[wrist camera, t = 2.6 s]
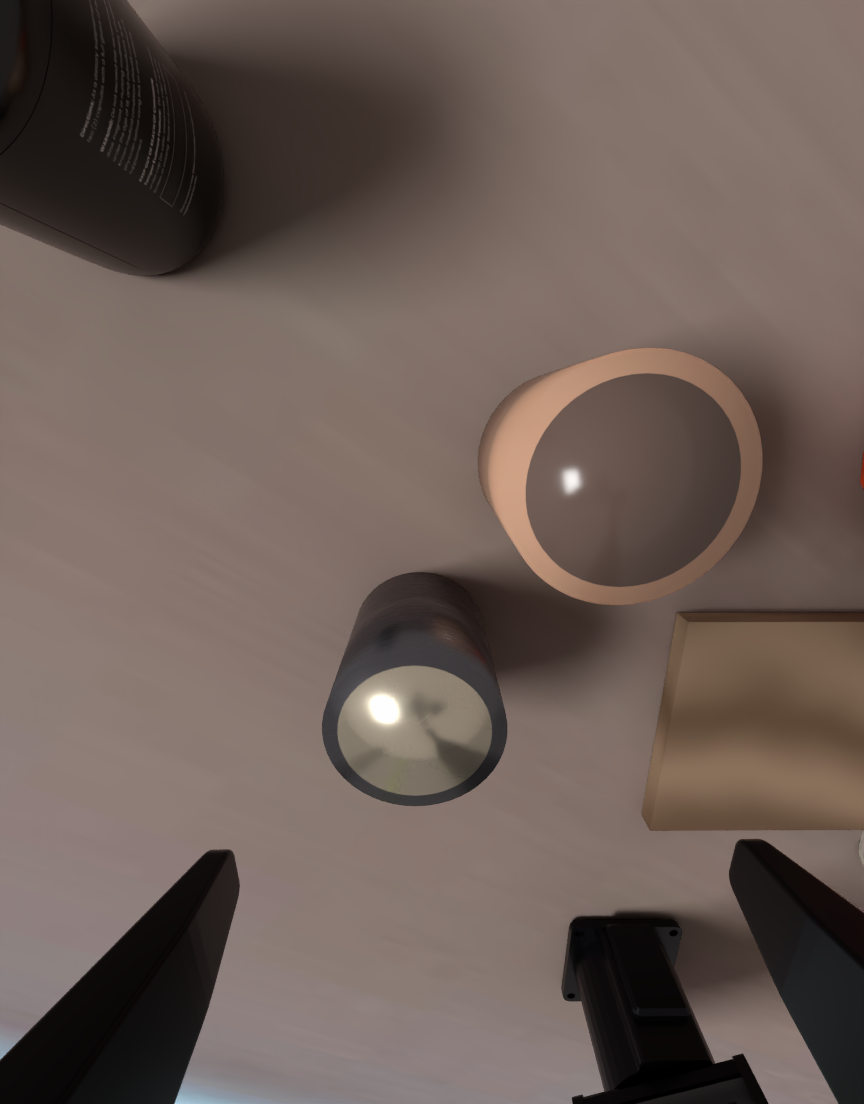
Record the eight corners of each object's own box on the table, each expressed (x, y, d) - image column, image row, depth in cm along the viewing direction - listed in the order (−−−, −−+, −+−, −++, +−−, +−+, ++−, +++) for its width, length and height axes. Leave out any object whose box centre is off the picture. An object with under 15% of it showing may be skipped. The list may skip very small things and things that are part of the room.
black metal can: (481, 687, 22) (503, 807, 16) (358, 687, 22) (328, 807, 16) (485, 572, 21) (512, 651, 14) (352, 572, 21) (315, 651, 14)
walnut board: (861, 813, 25) (878, 829, 24) (641, 814, 25) (649, 830, 24) (933, 612, 21) (956, 621, 20) (677, 612, 21) (688, 622, 20)
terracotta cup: (633, 540, 20) (735, 605, 13) (475, 540, 20) (498, 606, 13) (656, 370, 18) (791, 347, 11) (480, 370, 18) (510, 347, 11)
